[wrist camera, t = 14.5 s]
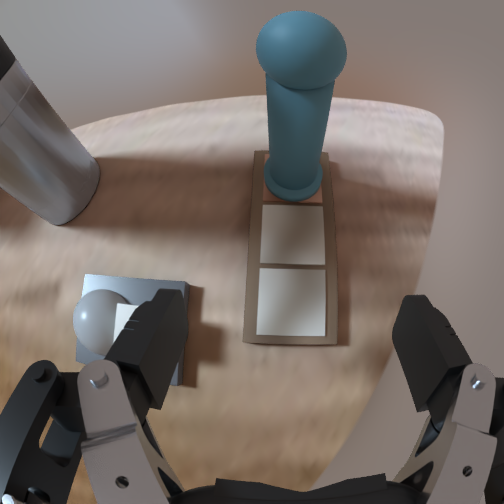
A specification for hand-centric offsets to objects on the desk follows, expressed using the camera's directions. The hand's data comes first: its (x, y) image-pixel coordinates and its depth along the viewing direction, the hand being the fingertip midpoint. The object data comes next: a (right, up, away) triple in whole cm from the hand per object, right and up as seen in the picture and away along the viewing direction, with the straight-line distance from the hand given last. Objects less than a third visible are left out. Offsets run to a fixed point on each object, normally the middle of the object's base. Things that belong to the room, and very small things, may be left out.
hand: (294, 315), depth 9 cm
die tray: (-12, -5, +13) cm, 18 cm away
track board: (+2, +3, +13) cm, 13 cm away
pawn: (+2, +8, +13) cm, 16 cm away
